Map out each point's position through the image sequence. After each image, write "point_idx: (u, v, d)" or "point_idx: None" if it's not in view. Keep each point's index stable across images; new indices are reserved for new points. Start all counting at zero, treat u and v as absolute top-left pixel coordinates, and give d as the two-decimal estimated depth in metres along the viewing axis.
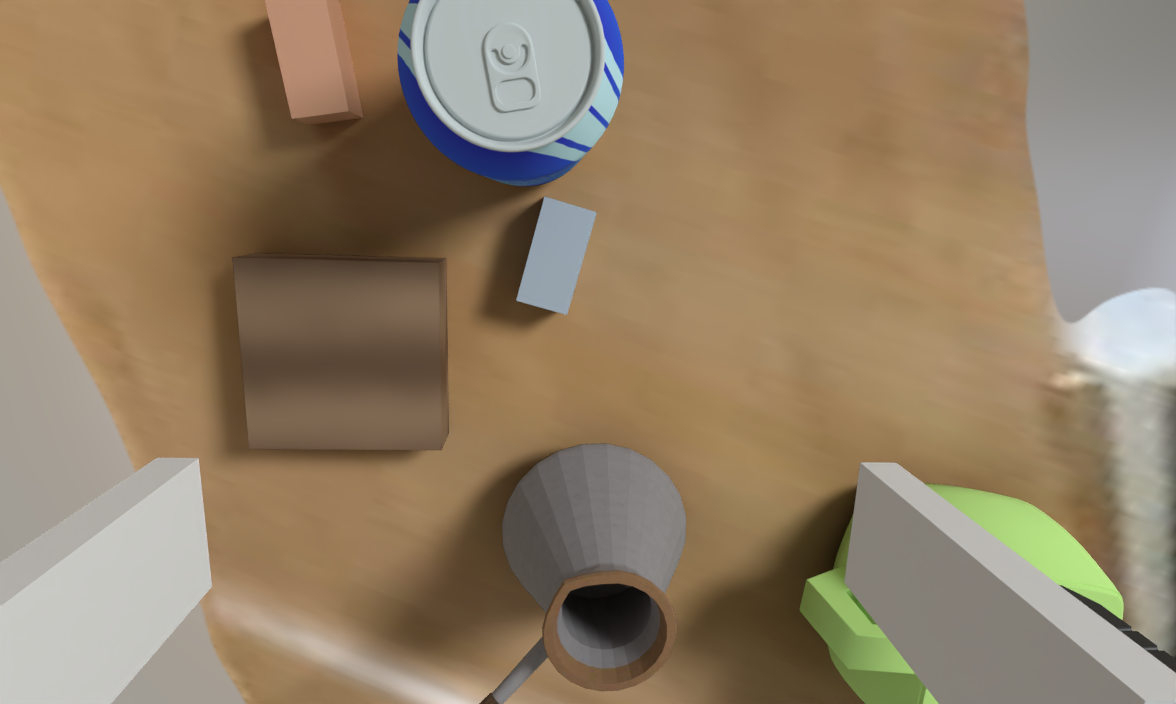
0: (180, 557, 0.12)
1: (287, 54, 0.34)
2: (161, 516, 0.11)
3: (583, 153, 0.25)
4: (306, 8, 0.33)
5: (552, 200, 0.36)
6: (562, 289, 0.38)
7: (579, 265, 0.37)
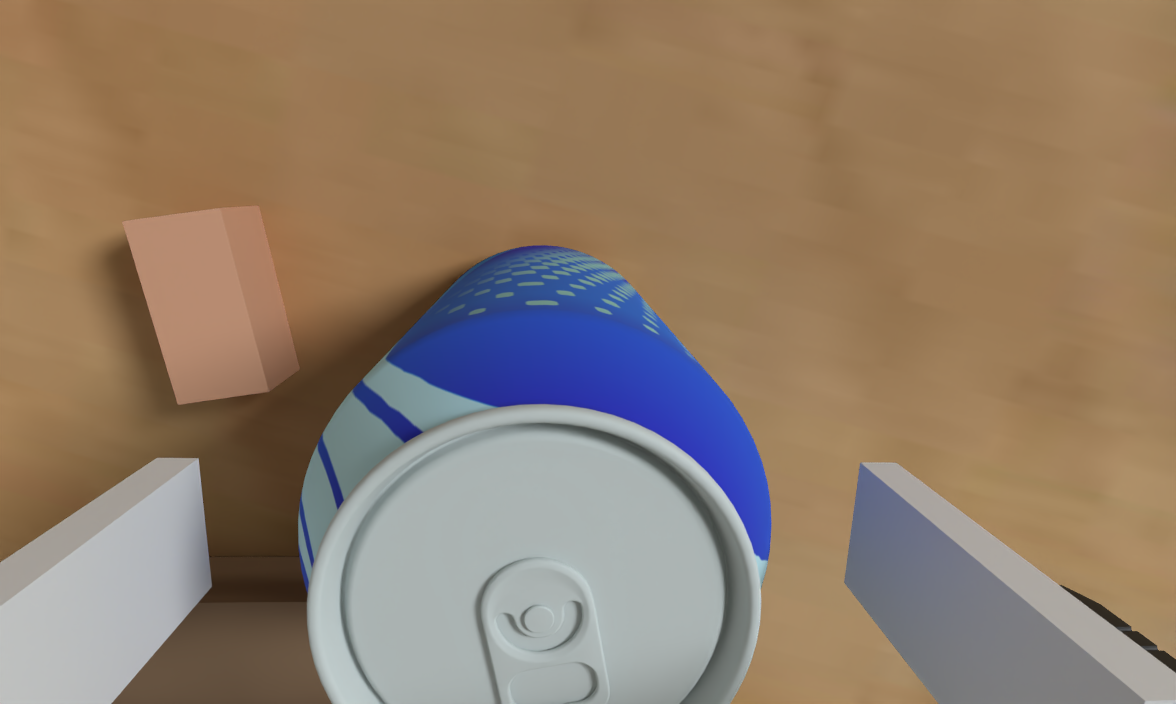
0: (180, 557, 0.12)
1: (166, 311, 0.21)
2: (162, 515, 0.11)
3: None
4: (194, 241, 0.21)
5: None
6: None
7: None
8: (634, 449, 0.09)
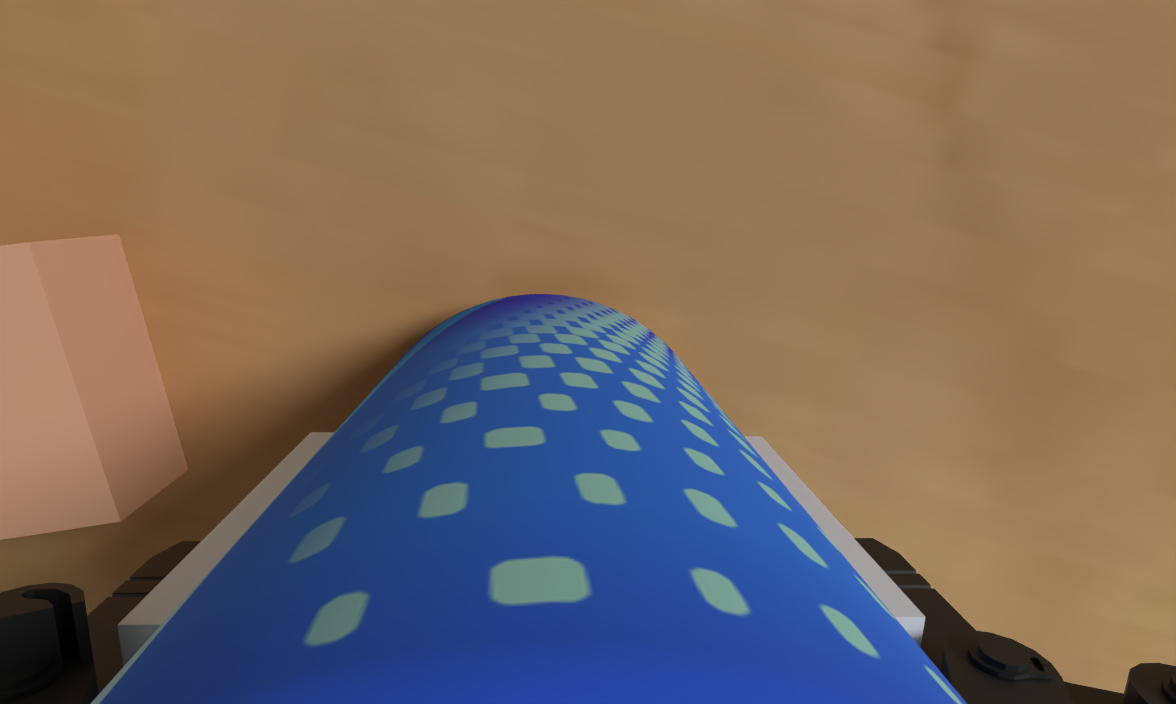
0: None
1: None
2: None
3: None
4: None
5: None
6: None
7: None
8: None
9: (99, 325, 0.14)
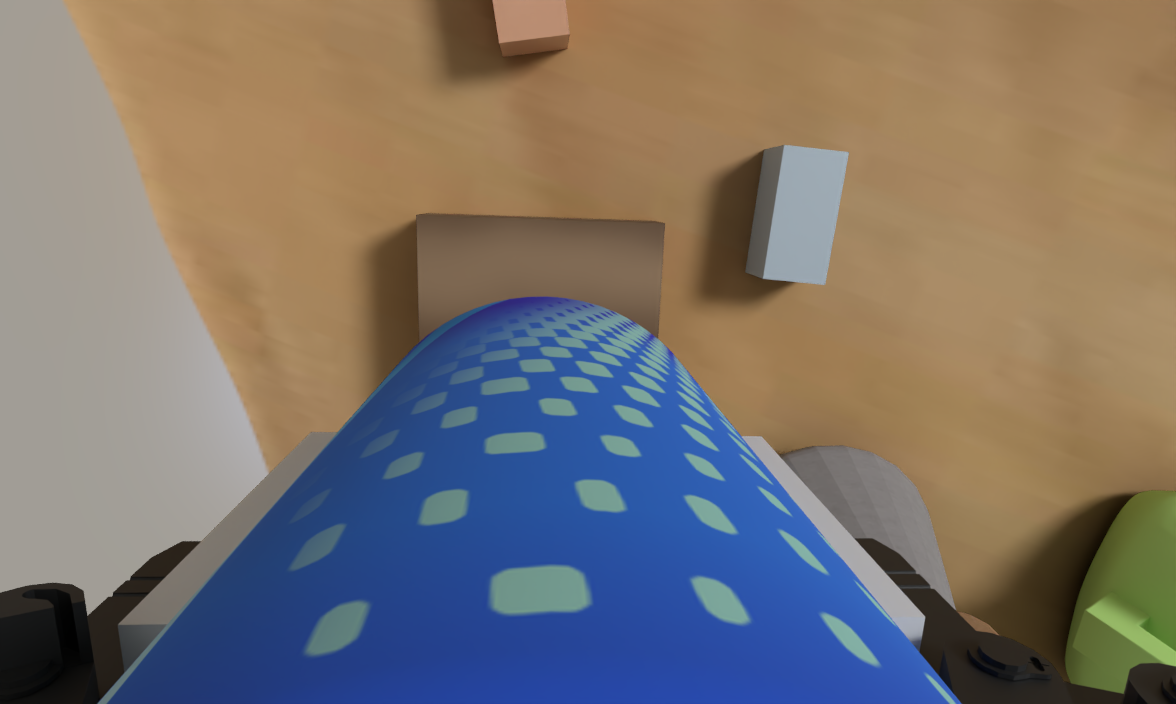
0: None
1: None
2: None
3: None
4: None
5: (794, 147, 0.30)
6: (816, 255, 0.31)
7: (834, 221, 0.30)
8: None
9: None
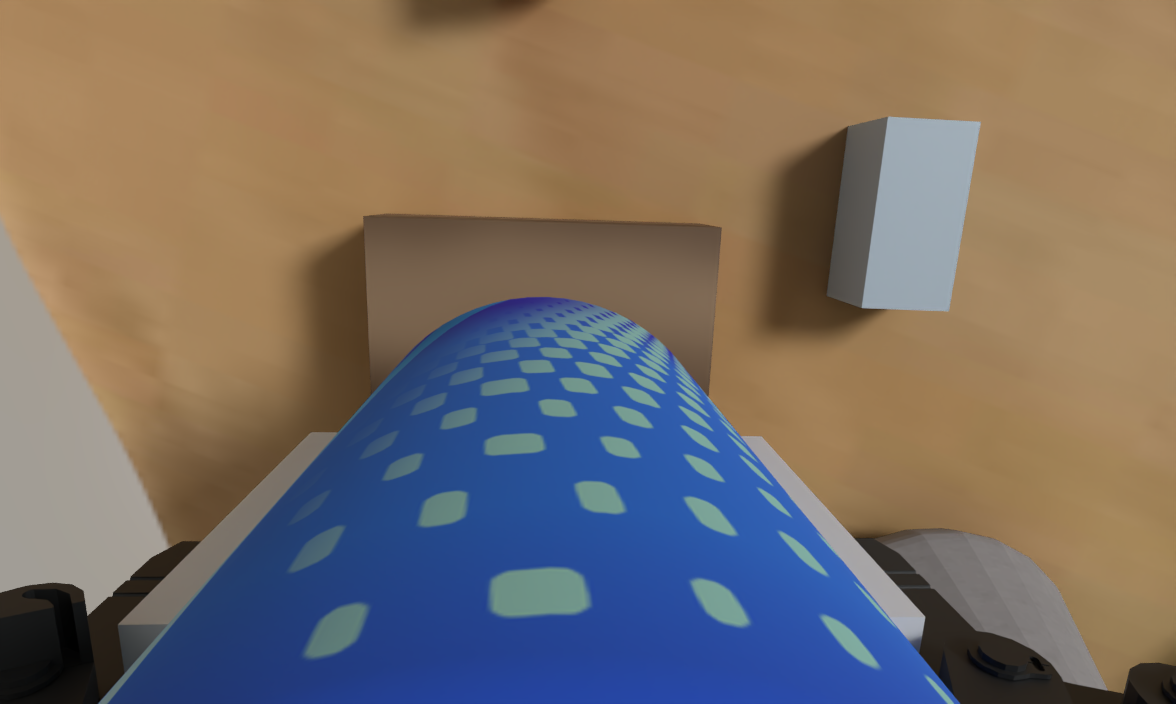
0: None
1: None
2: None
3: None
4: None
5: (902, 120, 0.21)
6: (936, 270, 0.22)
7: (960, 222, 0.21)
8: None
9: None
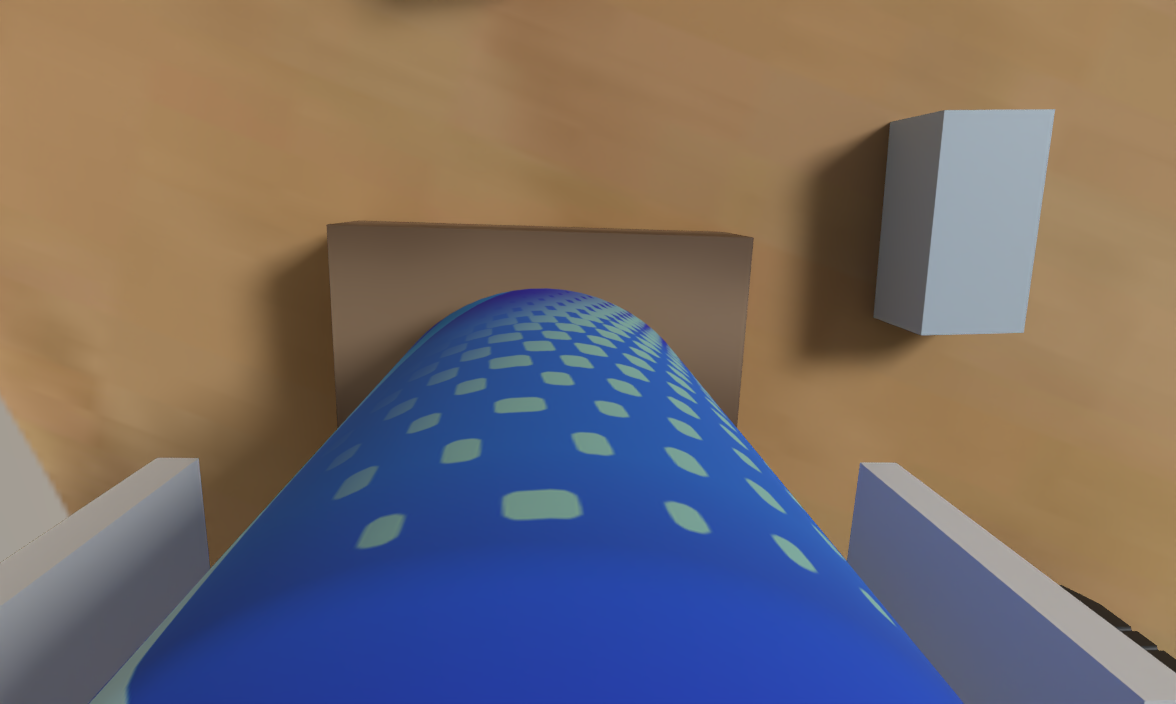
0: (180, 557, 0.12)
1: None
2: (161, 516, 0.11)
3: None
4: None
5: (961, 113, 0.17)
6: (1007, 287, 0.18)
7: (1034, 228, 0.18)
8: None
9: None
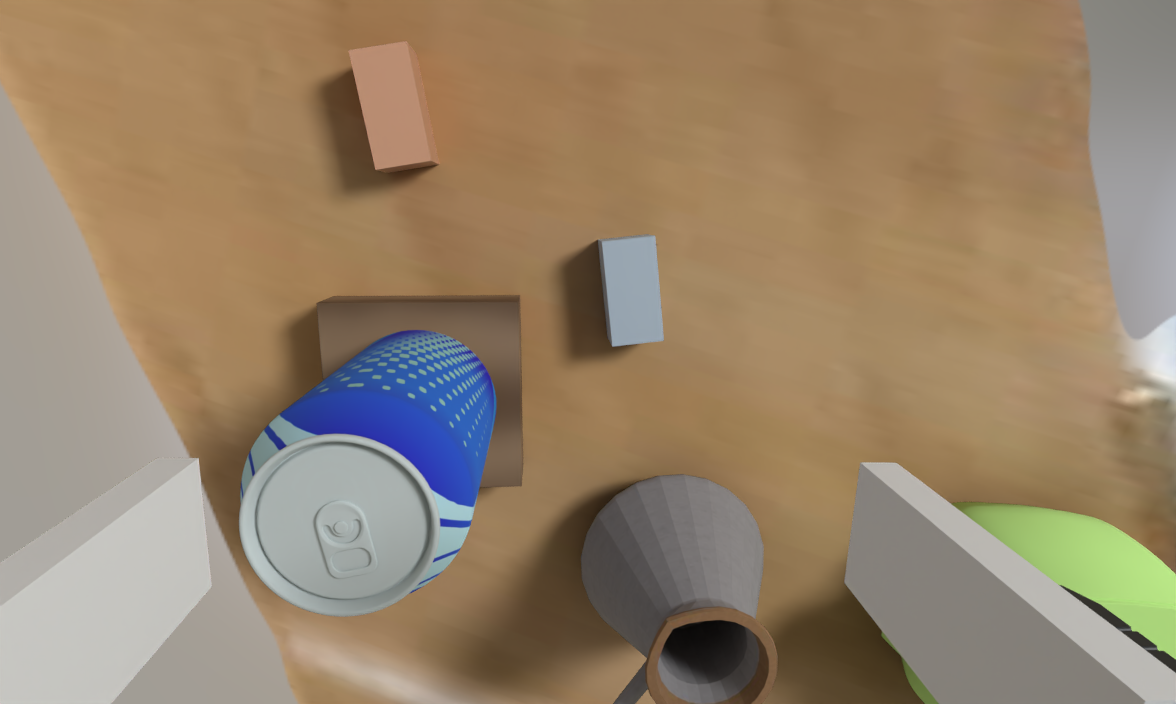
0: (180, 557, 0.12)
1: (371, 107, 0.35)
2: (162, 515, 0.11)
3: (436, 575, 0.25)
4: (390, 62, 0.34)
5: (610, 242, 0.37)
6: (650, 319, 0.38)
7: (658, 290, 0.38)
8: (379, 452, 0.22)
9: (418, 84, 0.36)
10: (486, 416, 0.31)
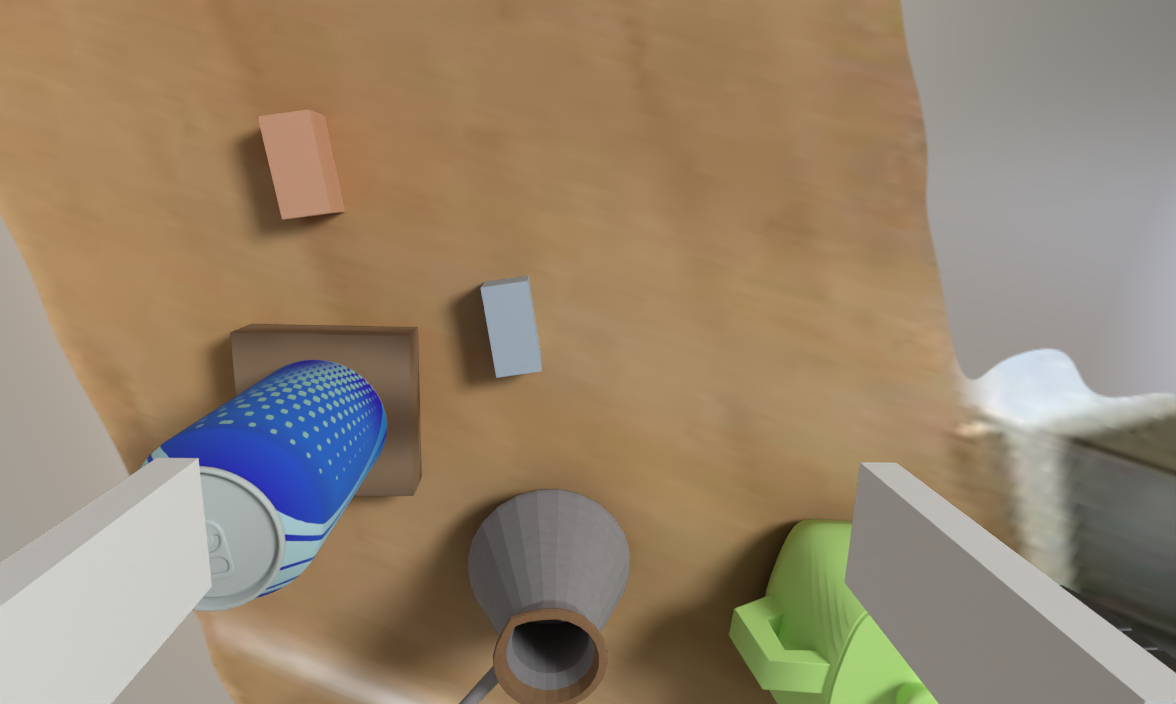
0: (180, 557, 0.12)
1: (278, 166, 0.40)
2: (162, 515, 0.11)
3: None
4: (294, 127, 0.39)
5: (488, 287, 0.42)
6: (528, 353, 0.43)
7: (533, 328, 0.43)
8: None
9: (322, 144, 0.41)
10: (362, 440, 0.37)
